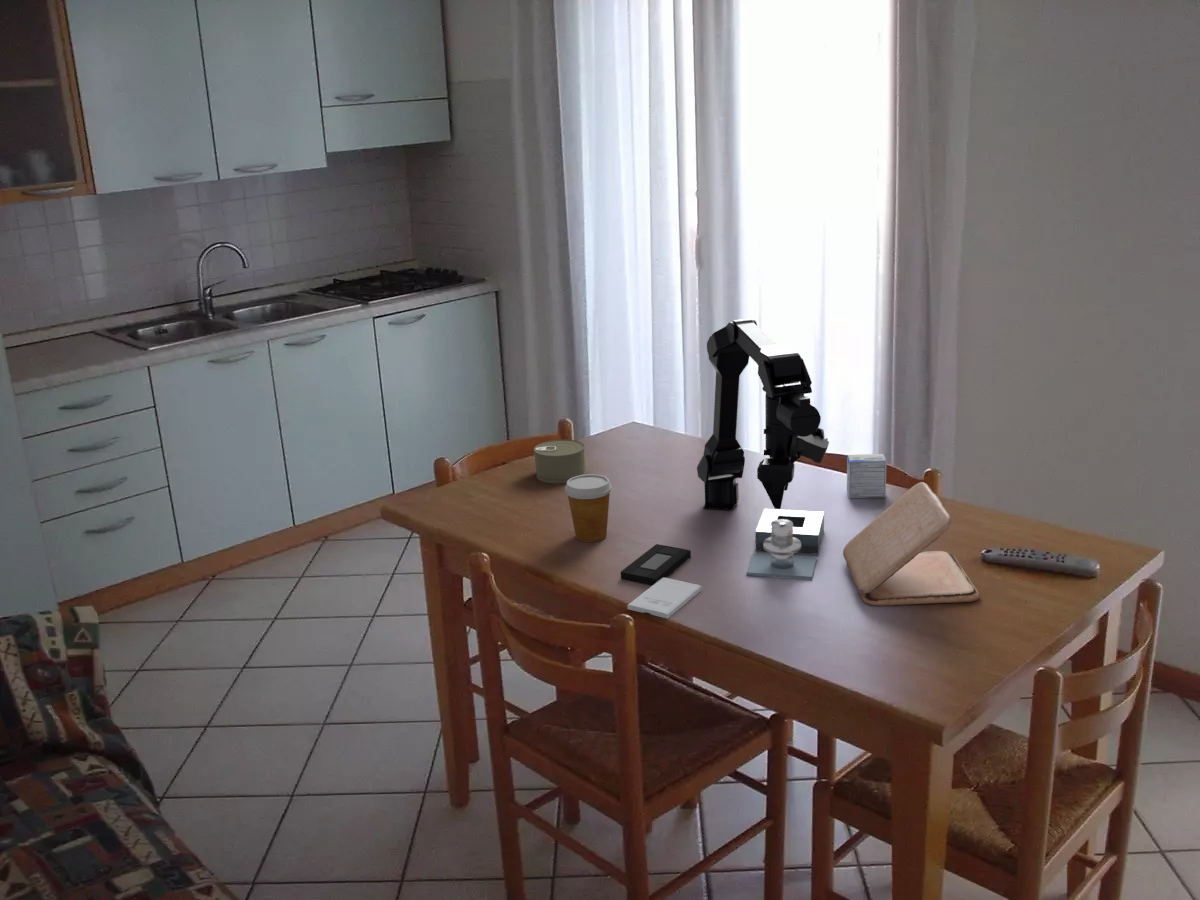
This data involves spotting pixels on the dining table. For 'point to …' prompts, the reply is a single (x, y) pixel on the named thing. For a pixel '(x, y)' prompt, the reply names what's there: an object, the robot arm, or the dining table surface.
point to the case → (907, 555)
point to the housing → (794, 528)
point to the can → (559, 460)
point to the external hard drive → (665, 597)
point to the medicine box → (866, 476)
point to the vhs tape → (655, 564)
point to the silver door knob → (782, 544)
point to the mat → (799, 571)
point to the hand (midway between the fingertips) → (780, 499)
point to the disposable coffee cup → (589, 505)
